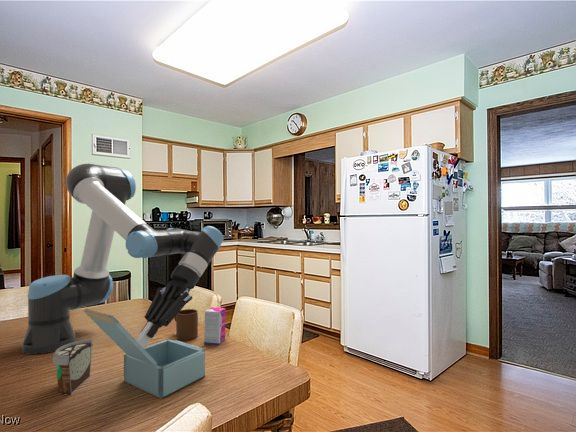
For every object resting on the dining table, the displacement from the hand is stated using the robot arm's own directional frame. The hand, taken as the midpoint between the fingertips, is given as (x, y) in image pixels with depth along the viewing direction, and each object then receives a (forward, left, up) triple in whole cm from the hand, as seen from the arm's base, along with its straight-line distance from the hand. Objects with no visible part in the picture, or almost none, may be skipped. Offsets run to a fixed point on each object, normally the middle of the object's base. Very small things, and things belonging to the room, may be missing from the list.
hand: (137, 348), depth 84 cm
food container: (-12, -16, -11) cm, 23 cm away
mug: (-37, +17, -11) cm, 42 cm away
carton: (-5, +7, -11) cm, 14 cm away
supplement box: (-26, +26, -11) cm, 38 cm away
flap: (-1, +1, -4) cm, 4 cm away
